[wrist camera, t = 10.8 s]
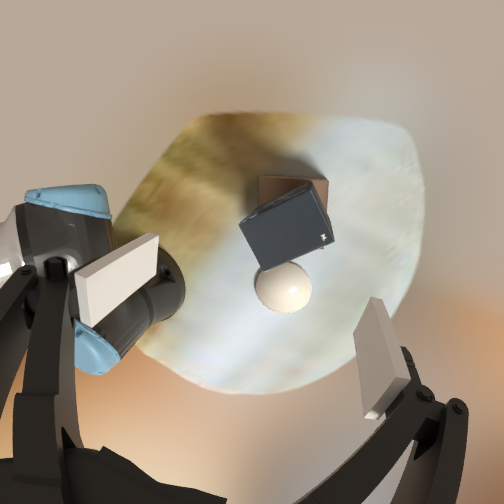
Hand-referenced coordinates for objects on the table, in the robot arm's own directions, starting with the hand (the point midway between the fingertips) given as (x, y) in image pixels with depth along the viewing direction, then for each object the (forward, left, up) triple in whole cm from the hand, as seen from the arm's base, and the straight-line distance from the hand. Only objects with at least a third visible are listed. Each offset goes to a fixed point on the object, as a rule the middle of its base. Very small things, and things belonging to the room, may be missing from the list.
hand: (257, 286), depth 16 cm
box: (+1, 0, -22) cm, 22 cm away
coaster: (+2, -13, -26) cm, 29 cm away
